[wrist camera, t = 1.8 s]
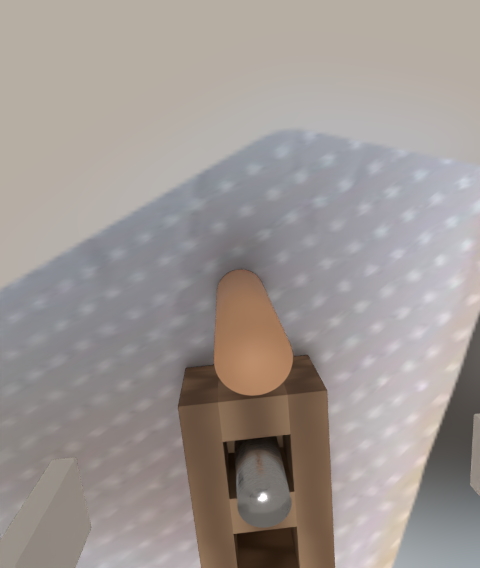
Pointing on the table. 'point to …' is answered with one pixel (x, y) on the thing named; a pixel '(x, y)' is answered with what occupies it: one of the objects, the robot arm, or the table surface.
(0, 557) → the robot arm
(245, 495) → the steel pin
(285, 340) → the peg
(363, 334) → the table surface
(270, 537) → the hole block
